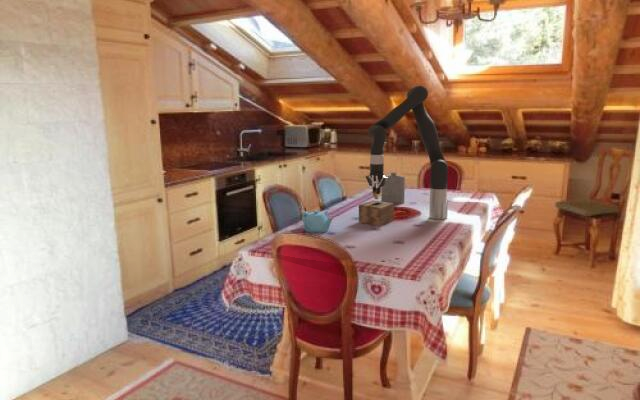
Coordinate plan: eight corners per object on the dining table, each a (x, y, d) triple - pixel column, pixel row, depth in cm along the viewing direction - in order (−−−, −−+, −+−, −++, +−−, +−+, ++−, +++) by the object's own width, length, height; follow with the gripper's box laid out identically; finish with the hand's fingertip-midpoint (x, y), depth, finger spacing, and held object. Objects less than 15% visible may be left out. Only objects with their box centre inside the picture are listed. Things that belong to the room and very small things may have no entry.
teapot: (329, 225, 261) (329, 206, 259) (333, 233, 246) (332, 213, 244) (301, 227, 259) (300, 207, 257) (303, 234, 245) (302, 214, 242)
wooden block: (382, 193, 267) (380, 188, 265) (377, 199, 264) (375, 193, 262) (379, 193, 268) (377, 187, 266) (374, 198, 266) (372, 193, 263)
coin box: (393, 220, 269) (393, 203, 266) (380, 226, 258) (380, 208, 256) (372, 217, 277) (372, 200, 275) (358, 222, 267) (358, 204, 264)
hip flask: (380, 201, 318) (380, 171, 314) (382, 200, 322) (383, 170, 317) (403, 203, 310) (403, 173, 306) (405, 202, 314) (406, 172, 310)
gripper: (391, 162, 259) (390, 194, 263) (369, 161, 268) (369, 191, 271) (384, 164, 254) (383, 196, 257) (362, 162, 262) (362, 193, 266)
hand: (376, 193), depth 264 cm, fingers closed on wooden block, 1 cm apart
